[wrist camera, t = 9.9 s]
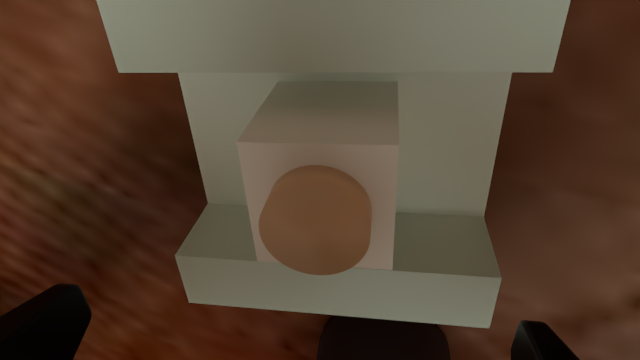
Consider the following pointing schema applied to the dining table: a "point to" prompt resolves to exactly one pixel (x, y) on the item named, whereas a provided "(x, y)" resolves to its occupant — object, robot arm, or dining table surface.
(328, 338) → the bottle
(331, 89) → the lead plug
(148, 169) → the dining table surface
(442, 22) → the notch board
